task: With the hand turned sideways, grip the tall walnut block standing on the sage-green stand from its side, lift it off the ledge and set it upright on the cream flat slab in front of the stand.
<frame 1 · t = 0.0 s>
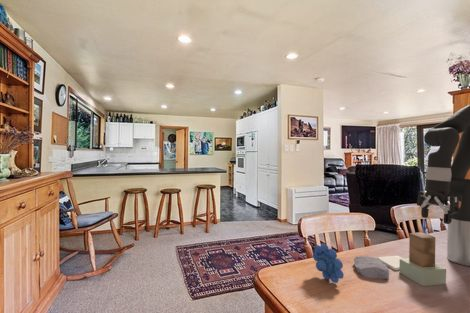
hand: (435, 220, 92), 17 cm above the table, tool pointing down, fingers open, 8 cm apart
walnut block: (421, 263, 82), point 5 cm above the table, touching green stand
grapes: (325, 281, 81), on the table
stone block: (368, 271, 88), on the table
cream flat slab: (396, 263, 93), on the table
green stand: (421, 277, 82), on the table
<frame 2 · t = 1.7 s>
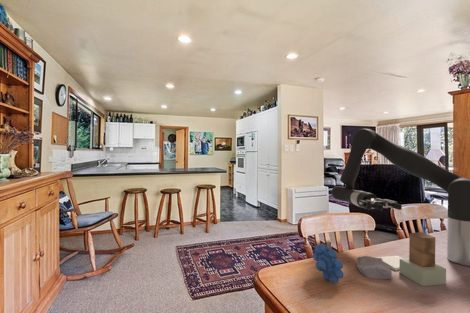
hand: (391, 207, 95), 22 cm above the table, tool horizontal, fingers open, 8 cm apart
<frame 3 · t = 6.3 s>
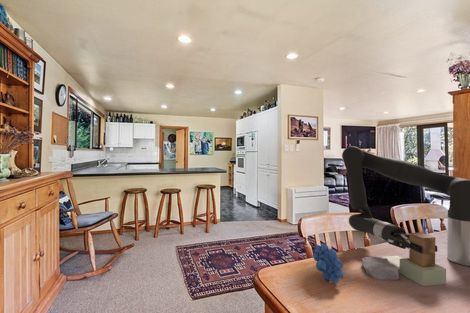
hand: (429, 249, 79), 11 cm above the table, tool horizontal, fingers closed on walnut block, 5 cm apart
walnut block: (421, 263, 82), point 5 cm above the table, touching green stand, gripper
stone block: (377, 272, 87), on the table
everything else where it was.
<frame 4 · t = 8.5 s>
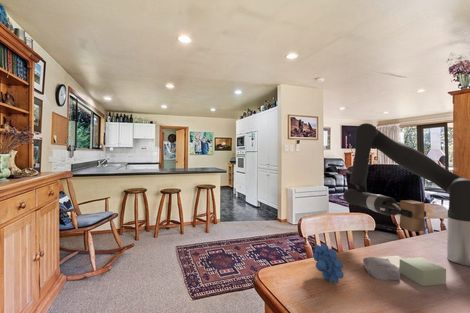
hand: (418, 214, 83), 22 cm above the table, tool horizontal, fingers closed on walnut block, 5 cm apart
walnut block: (411, 229, 86), point 16 cm above the table, touching gripper
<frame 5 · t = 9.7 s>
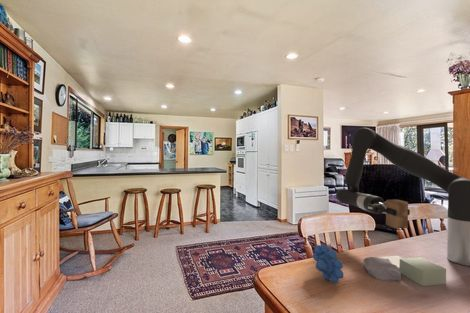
hand: (402, 212, 90), 21 cm above the table, tool horizontal, fingers closed on walnut block, 5 cm apart
walnut block: (396, 226, 92), point 15 cm above the table, touching gripper
stone block: (379, 273, 86), on the table, touching cream flat slab
everything else where it was.
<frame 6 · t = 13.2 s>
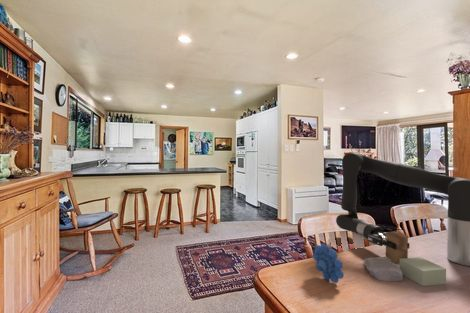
hand: (402, 246, 90), 8 cm above the table, tool horizontal, fingers closed on walnut block, 4 cm apart
walnut block: (396, 259, 92), point 2 cm above the table, touching gripper
stone block: (380, 273, 86), on the table
everything else where it was.
when the fingers open (8 cm above the table, at t = 13.3 s): walnut block stays where it is, resting on cream flat slab.
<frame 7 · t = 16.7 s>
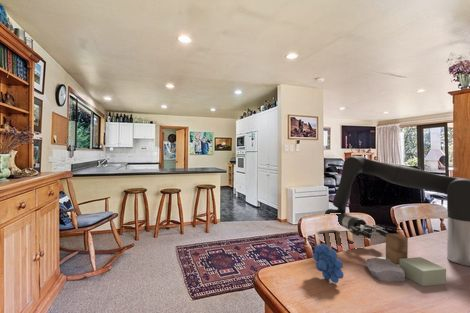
hand: (379, 235, 101), 8 cm above the table, tool horizontal, fingers open, 8 cm apart
walnut block: (396, 261, 93), point 1 cm above the table, touching cream flat slab
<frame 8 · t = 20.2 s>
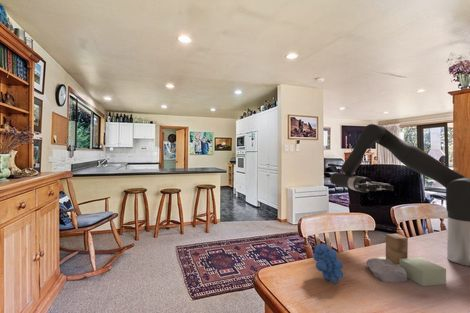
hand: (384, 188, 103), 28 cm above the table, tool horizontal, fingers open, 8 cm apart
stone block: (383, 274, 85), on the table, touching cream flat slab
everything else where it was.
at the end: walnut block inside the target area on the cream flat slab (0.0 cm from its centre), point 1.0 cm above the cream flat slab's base; walnut block tilted 0°; the gripper is holding nothing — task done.
